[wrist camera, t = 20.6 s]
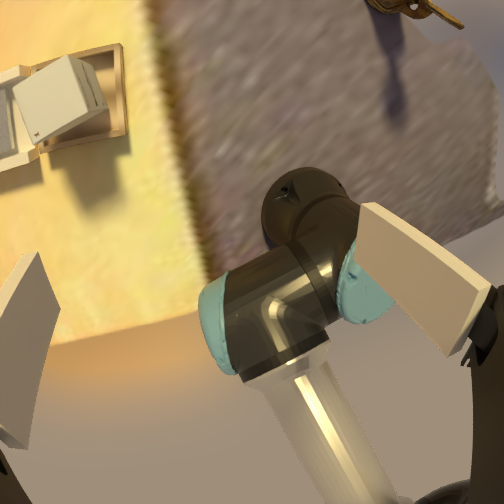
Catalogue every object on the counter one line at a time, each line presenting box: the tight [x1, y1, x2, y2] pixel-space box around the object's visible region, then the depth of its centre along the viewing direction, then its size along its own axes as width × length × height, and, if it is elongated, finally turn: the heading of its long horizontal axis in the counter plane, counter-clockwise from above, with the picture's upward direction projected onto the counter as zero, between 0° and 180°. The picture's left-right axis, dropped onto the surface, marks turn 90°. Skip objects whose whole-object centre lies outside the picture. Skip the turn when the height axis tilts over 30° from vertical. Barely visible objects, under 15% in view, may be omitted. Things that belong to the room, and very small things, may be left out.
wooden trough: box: [31, 43, 128, 154], centre depth 32 cm, size 13×13×3 cm
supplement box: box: [12, 54, 109, 145], centre depth 28 cm, size 7×7×13 cm
